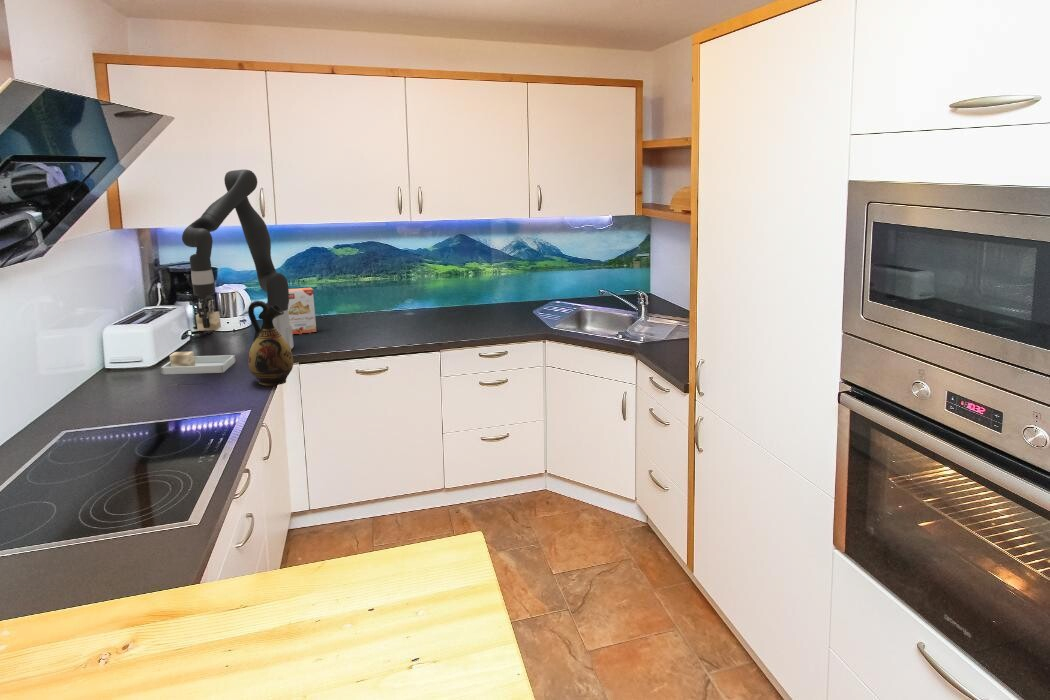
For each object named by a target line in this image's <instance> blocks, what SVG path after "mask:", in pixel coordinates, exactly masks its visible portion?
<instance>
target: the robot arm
mask: <svg viewBox="0 0 1050 700" xmlns="http://www.w3.org/2000/svg"><path fill="white" fill-rule="evenodd" d="M224 186H225V189H226V191H227V192H226V193H225V194H223V195H222V196H220V197H219V198H218V199H216V200H215V201H214V202H212V203H211V204H210V205H209V206H208V207H207V208H206V209H205V211H204V212H203V213H202V214H201V216H200V217H198V218H197V219H196V220H195V221H193V222H192V223H190V224H189V225H188V226H187V227H185V229H184V231H183V232H182V235H181V239H182V242H183V244H184V245H185V246H187V247H189V248H196V251H195V253H193V254H191V255H190V256H189V264H190V273H191V277H190V279H191V285H192V290H193V295H194V296H196V297H198V302H196V304H195V305H196V310H197V314H199V318H202V321H203V327H204V328H209V327H210V323H209V312H217V310H216V298H215V296H212V295H215V294H216V287H215V279H214V278H215V277H214V273H213V269H212V262H211V256H212V251H213V249H212V248H213V242H214V241H213V235H212V234H211V233H212V232H213V233H214V232H215V231H216V230H218V229H219V227H220V226H221V225H223V223H224V221H225V220H226V218H227V217H228V216H229V215H230V213H232V211H233V210H235V212H236V215H237V217H238V220H239V223H240V225H241V229H242V232H243V233H242V234H243V235H244V238H245V241H246V244H247V246H248V250H249V252H250V254H251V255H250V256H251V258H252V261H253V263H254V267H255V271H256V275H257V281H258V284H259V287H260V288H261V290H263V291H264V292H265V293H266V296H267V301H266V302H265V303H266V304H267V306H268V308H270V307H271V306H274V305H277V306H279V307H280V308H281V310H282V311H283V312H284V314H283V315H280V316H278V317H276V318H274V319H273V325H274V327H275V328H276V330H277V331H278V332H279V333H280V334H281V335H282V337H283V338H284V339H285V341H286V342H287V344H288V346H289V347H290V350H291V351H292V349H293V348H294V338H293V336H294V335H292V326H290V321H289V311H288V304H289V289H290V288H289V282H288V279H287V277H286V276H285V275H284V274H283V273H281V272H277V270H276V269H275V266H274V262H273V261H272V260H273V259H272V256H271V254H272V252H271V249H272V246H271V245H272V242H271V236H270V232H269V230H268V226H267V224H266V222H265V221H264V219H263V217H261V215H260V214H259V213H258V212H257V211H256V210H255V208H254V207H253V206H252V204H251V202H250V200H249V197H248V196H250V195H251V194H252V193H253V192H254V191H255V190H256V188H257V187H258V178H257V176H256V174H255V173H254V172H253V171H252V170H250V169H235V170H229V171H228V172H226V173H225V175H224ZM203 313H204V314H203Z"/></svg>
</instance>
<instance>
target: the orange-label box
mask: <svg viewBox="0 0 1050 700" xmlns="http://www.w3.org/2000/svg"><path fill="white" fill-rule="evenodd" d="M203 314H204V313H203ZM195 321H196V327H197V332H199V331H201V332H202V331H203V332H204V331H217V330H219V329H220V328H222V323H221V316H220V311H215V312H209V323H210V327H209V328H204V327H203V321H202V318H199V314H198V313H197V314H195Z"/></svg>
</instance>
